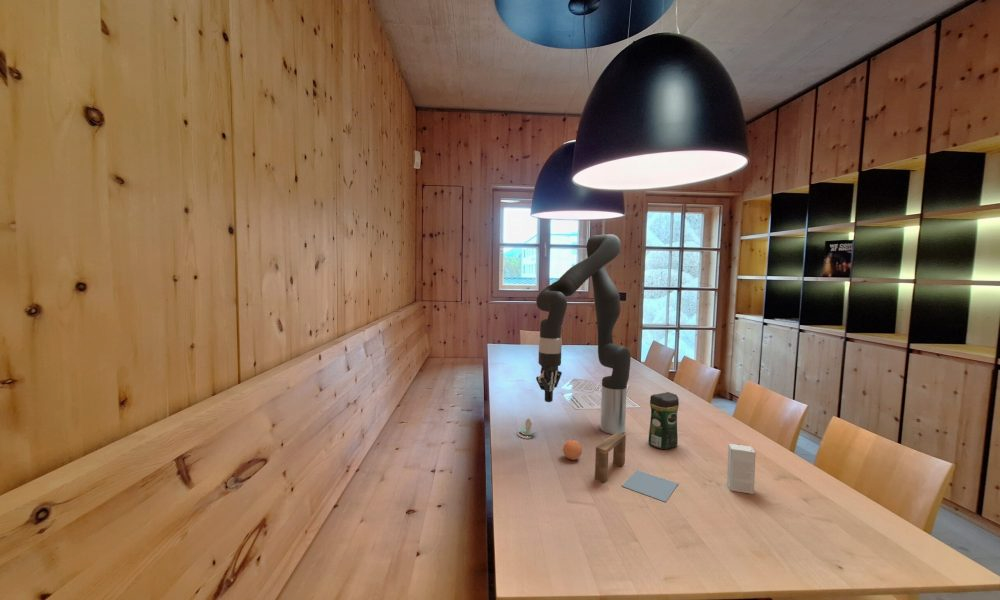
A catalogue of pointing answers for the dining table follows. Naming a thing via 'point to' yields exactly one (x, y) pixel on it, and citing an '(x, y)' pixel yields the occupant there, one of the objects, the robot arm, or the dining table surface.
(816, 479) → the dining table surface
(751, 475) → the skincare box
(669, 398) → the coffee jar
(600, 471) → the bridge
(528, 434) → the pacifier
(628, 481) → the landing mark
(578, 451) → the ball
